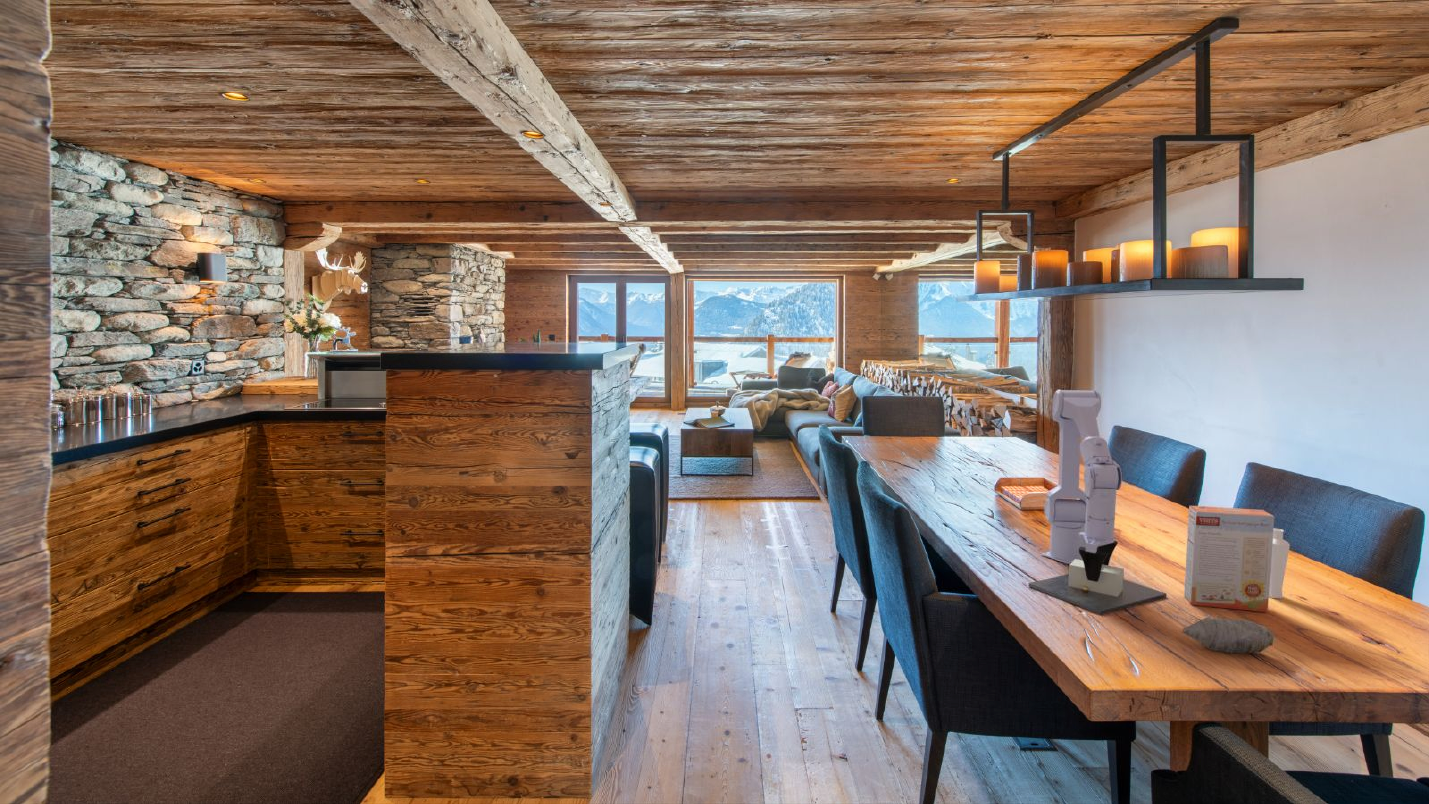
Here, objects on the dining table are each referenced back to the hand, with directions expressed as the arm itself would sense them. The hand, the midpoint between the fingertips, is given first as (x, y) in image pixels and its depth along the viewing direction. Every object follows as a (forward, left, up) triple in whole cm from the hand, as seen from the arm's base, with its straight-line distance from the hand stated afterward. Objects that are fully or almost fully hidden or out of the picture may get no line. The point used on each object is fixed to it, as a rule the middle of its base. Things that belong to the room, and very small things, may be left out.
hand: (1096, 575), depth 160 cm
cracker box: (-18, +17, -4) cm, 25 cm away
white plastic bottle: (-33, +19, -4) cm, 38 cm away
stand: (0, 0, -4) cm, 4 cm away
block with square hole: (0, 0, -3) cm, 3 cm away
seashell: (+5, +30, -4) cm, 31 cm away
